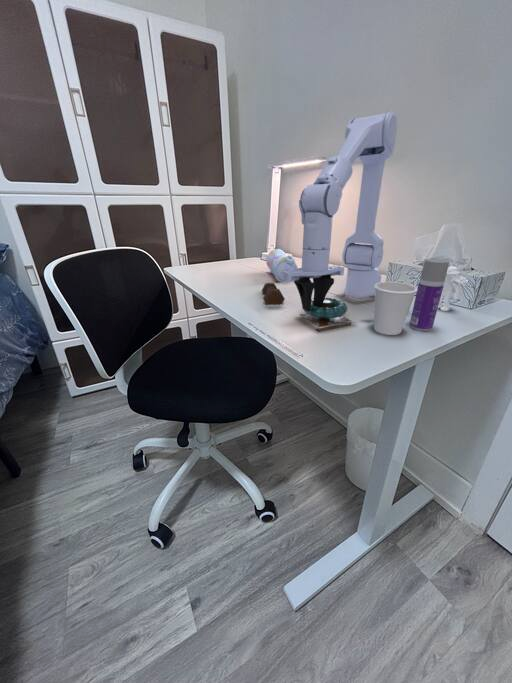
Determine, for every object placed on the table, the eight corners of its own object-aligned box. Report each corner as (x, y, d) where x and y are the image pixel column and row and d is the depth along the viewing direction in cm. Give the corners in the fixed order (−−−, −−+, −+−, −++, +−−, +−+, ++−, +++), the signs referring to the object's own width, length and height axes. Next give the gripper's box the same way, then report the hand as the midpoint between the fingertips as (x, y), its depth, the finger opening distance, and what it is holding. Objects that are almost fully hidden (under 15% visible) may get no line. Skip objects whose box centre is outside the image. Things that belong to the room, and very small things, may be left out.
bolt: (270, 298, 94) (276, 312, 80) (257, 291, 93) (261, 304, 79) (279, 282, 92) (287, 294, 78) (266, 275, 91) (271, 285, 77)
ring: (329, 303, 75) (330, 294, 74) (355, 315, 67) (356, 305, 66) (295, 309, 72) (296, 299, 71) (318, 322, 63) (319, 312, 62)
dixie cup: (384, 320, 71) (392, 279, 66) (416, 332, 64) (426, 288, 60) (359, 327, 67) (366, 284, 63) (389, 340, 60) (399, 294, 56)
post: (328, 313, 76) (330, 294, 73) (351, 325, 68) (354, 304, 66) (298, 318, 73) (299, 298, 70) (318, 331, 65) (320, 309, 63)
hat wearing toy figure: (461, 312, 75) (476, 265, 70) (450, 314, 74) (464, 266, 69) (431, 302, 83) (442, 259, 77) (421, 304, 81) (431, 260, 76)
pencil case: (298, 283, 104) (299, 256, 100) (274, 284, 103) (274, 256, 99) (285, 271, 123) (286, 247, 119) (265, 271, 122) (265, 248, 118)
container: (431, 332, 64) (449, 263, 57) (407, 328, 66) (423, 261, 59) (432, 325, 67) (450, 259, 61) (410, 322, 69) (425, 257, 63)
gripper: (332, 243, 67) (327, 300, 73) (277, 248, 62) (276, 308, 68) (353, 247, 61) (345, 308, 67) (293, 252, 56) (290, 317, 62)
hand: (311, 308), depth 67 cm, fingers closed on ring, 2 cm apart
